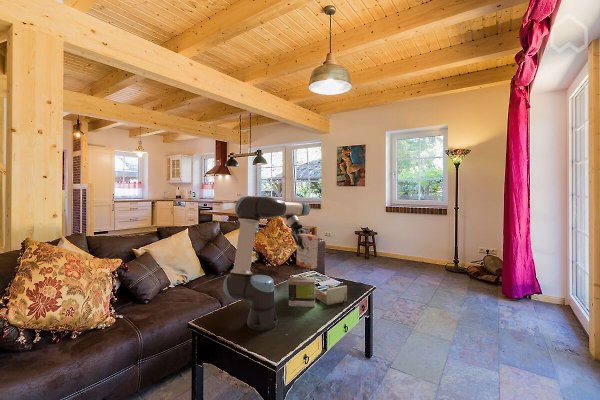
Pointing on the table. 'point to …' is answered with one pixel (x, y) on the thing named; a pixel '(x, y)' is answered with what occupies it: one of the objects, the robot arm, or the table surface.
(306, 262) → the cracker box
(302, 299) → the tea box
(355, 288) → the table surface
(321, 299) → the book trough
